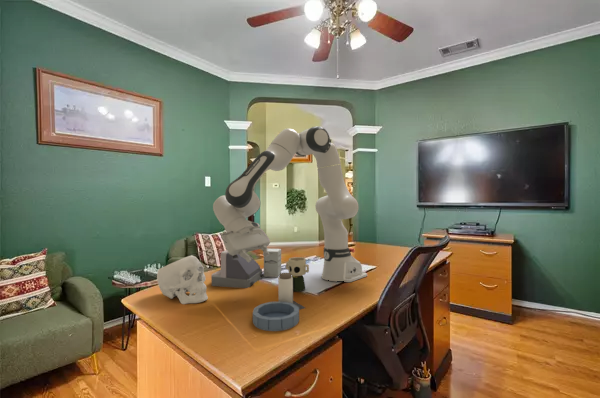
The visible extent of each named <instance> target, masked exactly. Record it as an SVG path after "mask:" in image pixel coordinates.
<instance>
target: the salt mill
mask: <svg viewBox="0 0 600 398" xmlns="http://www.w3.org/2000/svg"><path fill="white" fill-rule="evenodd" d="M277 278H278V279H277V281H278V283H277V284H278V289H277V290H278V291H277V293H278V294H277V295H278V301H282V302H289V303H293V301H294V289H293V277H292V275H291V273H289V272H281V274H280V276H279V277H277Z"/></svg>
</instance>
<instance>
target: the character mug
mask: <svg viewBox="0 0 600 398" xmlns="http://www.w3.org/2000/svg"><path fill="white" fill-rule="evenodd" d="M285 269H286V270H287V271H288V273H291V276H292V277H293V292H302V291H304V290H305V289H306V283H305V278H304V275H306V273H307V274H308V273H309V272H310V265H309V264H307V258H305V257H304V256H303V257H302V256H294V257H289V258H288V261H286V262H285Z"/></svg>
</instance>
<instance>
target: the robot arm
mask: <svg viewBox="0 0 600 398" xmlns="http://www.w3.org/2000/svg"><path fill="white" fill-rule="evenodd" d="M295 155H298V156H303V157H305V156H310V155H313V156H314V157H313V158H315V161H316V168H317V174H318V179H319V180H318V181H319V184H320V186H321V188H323V189H324V190H325V192H326V195H325V196H322V197H319V198H318V199H317V201H316V203H315V211H316V213H317V214H318V215H319V217H320V220H321V221H320V222H321V223H322V228H323V237H324V238H323V239H324V247H323V260H324V261H323V267H322V272H321V279H323V280H325V281H328V280H329V281H330V282H337V281H344V282H343V283H352V282H354V281H357V280H360V279H363V278H365V277H368V274H367V272H365V271H363V268H362V267H363V265H362V264H361V261H359V260H357V259H356V258H355V257H354V256H353V255H352V253H355V251H356V249H355V248H353V247H349V232H348V229H347V228H346V227H345V225H344V223H343V220H347V219H352V218H354V217H355V216H356V215H357V213H358V211H359V203H358V201H357V199H356V198H355V197H354V196H353V195H352V194H351V192H350V191H349V189H348V187H347V184H346V182H345V179H344V174H343V169H342V164H341V163H342V162H341V159H340V154H339V151H338V149H337V147H336V144H334V143H333V142H332V140H331V137H330V134H329V132H328V131H327V130H326V128H325V127H323V126H312V127H310V128H307V129H306V128H305V129H304V130H302V131H301V132H297V131H296V130H295V129H293V128H284V129H282V130H281V131H280V132H279V133H278V134H277V136H275V137H274V139H273V140H272V142H271V143H270V144H269V145H268V147H267V148H266V149H265V150H264V151H262V152H260V153H259V154H258V155H257V156H256V157H255V158H254V160H252V162H251V163H250V164H249V165H248V167H246V169H245V170H244V171H243V173H241V174H240V175H239V176H238V177H236V179H235V180H233V181H231V182H230V183H229V184H228V185H227V187H226V189H225V193H224V194H225V195H220V196H219V197H218V198H216V199H215V201H214V202H213V204H212V210H213V213H214V216H215V217H216V218H217V220H218V221H219V224H220V225H222V226H223V227H224V230H225V232H222V234H221V236H220V239H221V240H222V241H223V244H224V246H225V249H226V250H227V251H228V253H229V254H230V255H232V256H234V255H238V254H239V255H240V256H241V257H243V258H244V259H246V261H247V262H251V261H252V260H253V259H254V258H253V257H252V254H250V255H249V254H248V253H249V252H254V251H257V250H261V251H262V252H263V253H262V255H263V258H264V257H268V256H269V255H270V254H269V252H268V250H267V249H268V246H269V245H270V244H271V239H270V238H269V236H268V235H267V234H266V232H265V231H264V230H263V229H262V228H261V225H260V224H259V222H254V221H251V220H248V218H249V217H252V215H254V214H256V213H257V212H258V211H259V209H260V207H261V200H260V198H259V196H258V194H257V193H256V192H255V191H254V190H255V189H254V188H255V186H256V184H257V183H258V182H259V180H260V179H261V178H262V177H263V175H264V174H265V173H266V172H267V171H268V170H271V171H273V172H274V171H275V172H280V171H283V170H285V169H286V168H287V167H288V166H289V164H290V163H291V162H292V159H293V158H294V156H295Z"/></svg>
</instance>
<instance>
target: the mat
mask: <svg viewBox="0 0 600 398" xmlns="http://www.w3.org/2000/svg"><path fill="white" fill-rule="evenodd" d="M293 304H295V305H296V306H298V307H299V311H300V310H303V309H306V306H303V305H302V304H300V303H299V302H296V301H295V300H293Z"/></svg>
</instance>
